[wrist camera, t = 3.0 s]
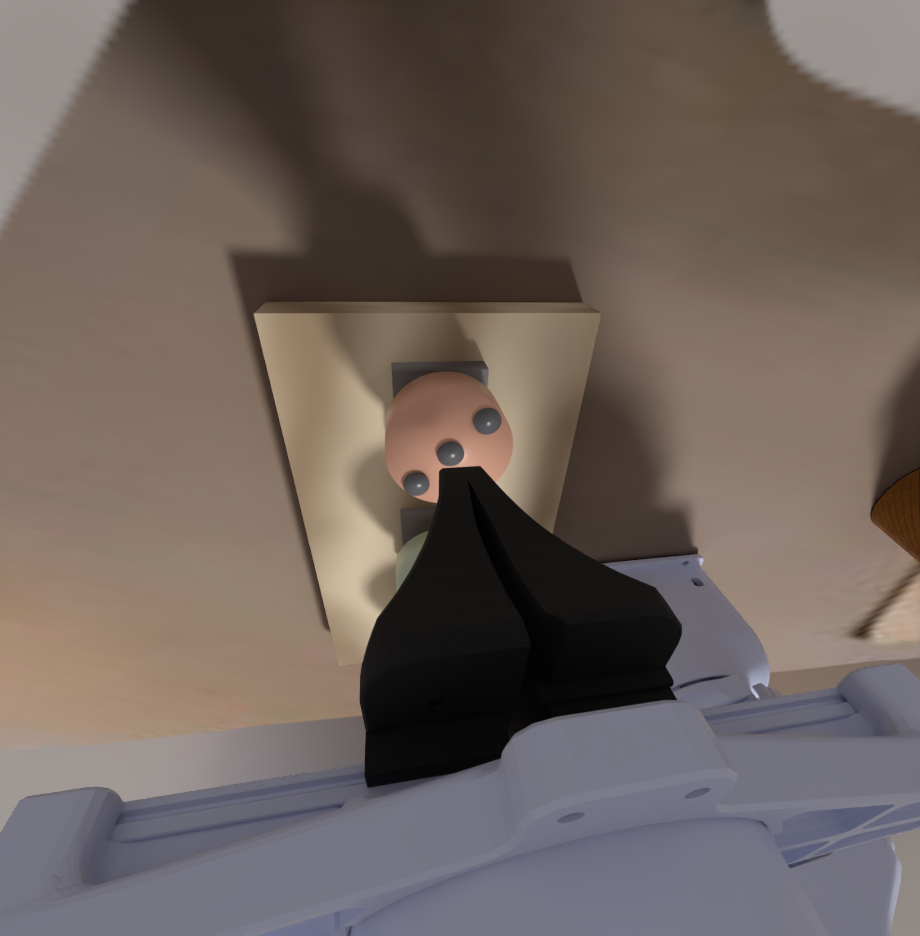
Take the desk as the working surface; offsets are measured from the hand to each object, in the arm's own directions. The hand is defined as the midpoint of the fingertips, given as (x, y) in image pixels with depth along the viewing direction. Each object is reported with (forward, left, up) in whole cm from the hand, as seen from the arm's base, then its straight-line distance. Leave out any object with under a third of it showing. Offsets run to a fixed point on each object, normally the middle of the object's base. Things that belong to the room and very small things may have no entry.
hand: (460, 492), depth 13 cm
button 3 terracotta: (0, 0, -4) cm, 4 cm away
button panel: (0, +8, -9) cm, 12 cm away
